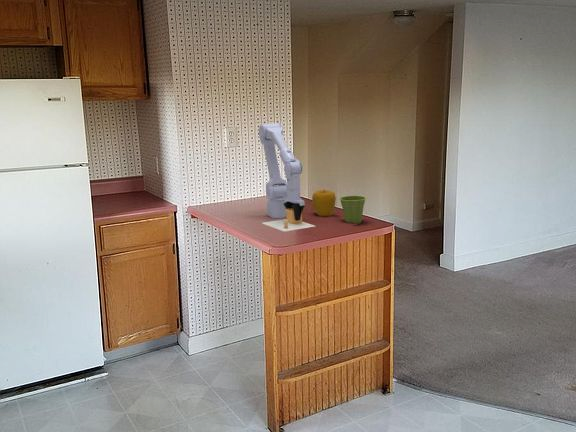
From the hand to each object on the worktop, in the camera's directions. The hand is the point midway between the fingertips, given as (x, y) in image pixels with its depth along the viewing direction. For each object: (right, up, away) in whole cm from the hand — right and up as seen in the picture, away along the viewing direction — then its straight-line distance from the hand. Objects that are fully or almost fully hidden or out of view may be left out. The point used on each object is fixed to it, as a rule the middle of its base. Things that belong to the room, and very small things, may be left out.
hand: (294, 219), depth 255 cm
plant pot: (+26, -2, +1) cm, 26 cm away
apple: (+14, +1, +15) cm, 20 cm away
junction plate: (-3, -3, -3) cm, 5 cm away
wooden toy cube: (0, -1, 0) cm, 1 cm away
